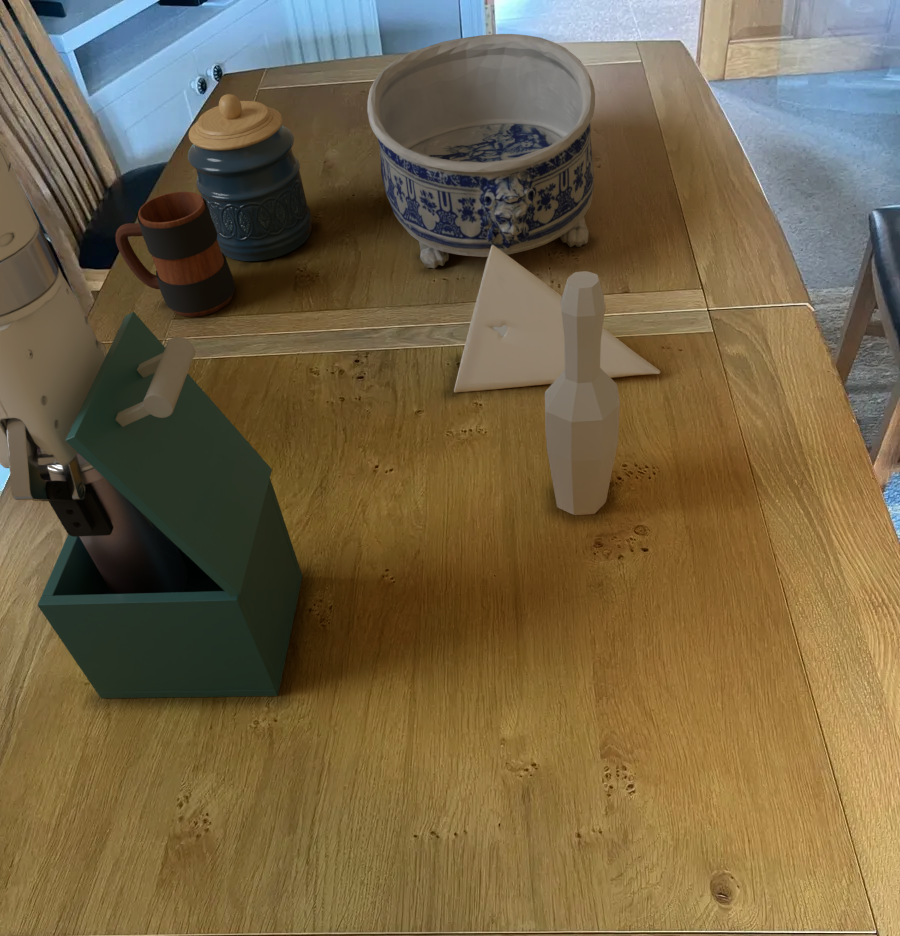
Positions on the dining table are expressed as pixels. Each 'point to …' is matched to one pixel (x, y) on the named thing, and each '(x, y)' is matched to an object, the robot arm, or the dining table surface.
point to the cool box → (181, 623)
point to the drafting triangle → (525, 334)
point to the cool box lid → (173, 452)
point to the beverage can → (129, 542)
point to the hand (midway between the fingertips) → (105, 497)
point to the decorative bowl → (486, 144)
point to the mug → (180, 254)
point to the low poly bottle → (582, 404)
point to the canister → (250, 180)
